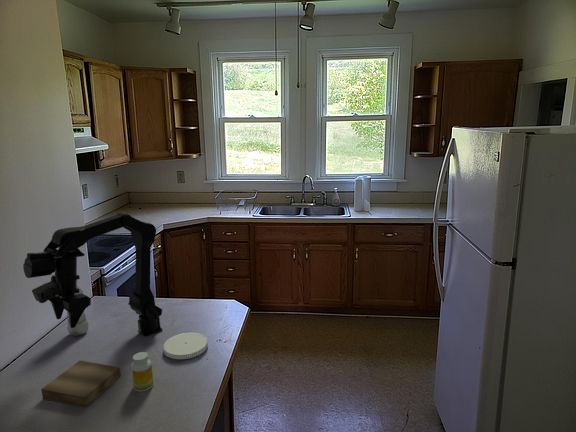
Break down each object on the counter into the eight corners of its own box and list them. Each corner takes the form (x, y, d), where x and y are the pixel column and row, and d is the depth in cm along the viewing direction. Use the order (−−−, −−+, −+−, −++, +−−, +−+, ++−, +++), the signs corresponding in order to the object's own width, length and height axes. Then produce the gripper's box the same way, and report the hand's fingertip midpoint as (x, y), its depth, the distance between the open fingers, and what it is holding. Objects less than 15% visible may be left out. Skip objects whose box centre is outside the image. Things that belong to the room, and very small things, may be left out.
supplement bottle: (130, 385, 116) (127, 355, 114) (149, 378, 120) (146, 348, 117) (137, 395, 112) (133, 363, 110) (156, 387, 115) (153, 356, 113)
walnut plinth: (80, 369, 124) (79, 360, 124) (120, 375, 121) (119, 366, 120) (42, 398, 111) (41, 389, 111) (86, 407, 108) (84, 397, 107)
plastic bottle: (81, 338, 142) (73, 284, 138) (64, 337, 144) (55, 283, 139) (93, 329, 148) (86, 277, 144) (76, 328, 150) (69, 276, 145)
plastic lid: (155, 351, 134) (155, 344, 134) (192, 334, 144) (191, 328, 144) (179, 367, 125) (179, 360, 124) (216, 349, 135) (216, 342, 134)
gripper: (22, 270, 120) (22, 321, 122) (50, 284, 109) (50, 340, 111) (62, 264, 129) (62, 312, 131) (92, 277, 118) (91, 329, 120)
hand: (65, 323), depth 123 cm, fingers open, 9 cm apart
